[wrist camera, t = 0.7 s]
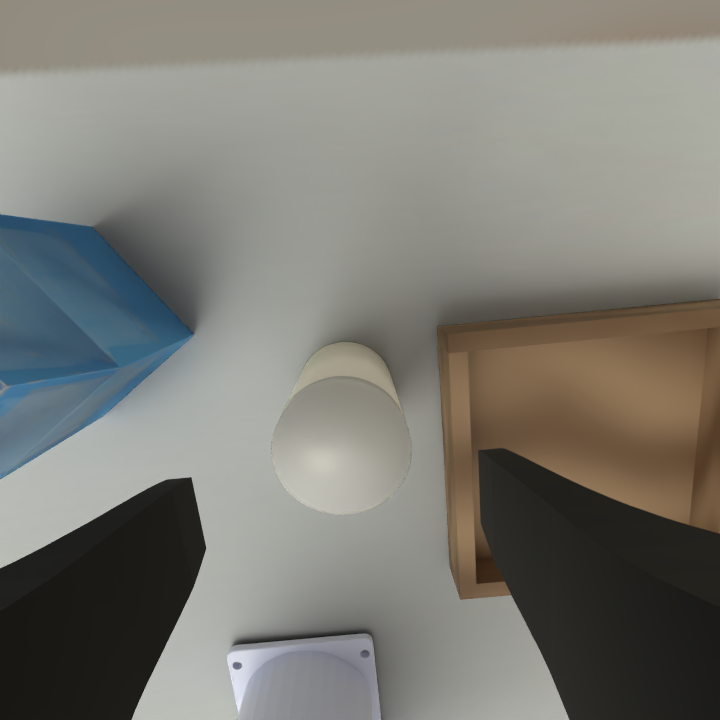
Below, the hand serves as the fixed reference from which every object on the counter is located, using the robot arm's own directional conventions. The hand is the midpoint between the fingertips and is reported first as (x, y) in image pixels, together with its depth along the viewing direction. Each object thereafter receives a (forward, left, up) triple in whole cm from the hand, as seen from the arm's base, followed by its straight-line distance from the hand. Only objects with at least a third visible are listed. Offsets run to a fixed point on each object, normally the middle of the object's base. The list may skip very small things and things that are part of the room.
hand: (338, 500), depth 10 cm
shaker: (0, 0, -10) cm, 10 cm away
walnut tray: (-4, -11, -10) cm, 15 cm away
